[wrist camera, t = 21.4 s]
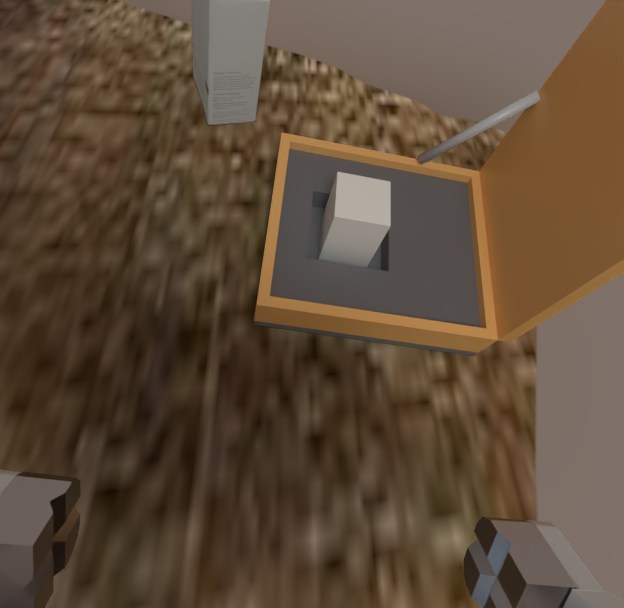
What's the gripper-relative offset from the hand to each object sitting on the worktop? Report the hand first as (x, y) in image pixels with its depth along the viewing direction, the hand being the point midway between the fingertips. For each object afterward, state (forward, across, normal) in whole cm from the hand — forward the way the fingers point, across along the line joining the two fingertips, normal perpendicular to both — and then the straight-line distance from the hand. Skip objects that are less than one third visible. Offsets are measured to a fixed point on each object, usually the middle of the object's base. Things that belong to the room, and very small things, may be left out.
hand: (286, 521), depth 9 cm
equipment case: (+39, +10, -2) cm, 41 cm away
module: (+39, +7, -1) cm, 39 cm away
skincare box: (+52, -8, +10) cm, 54 cm away
